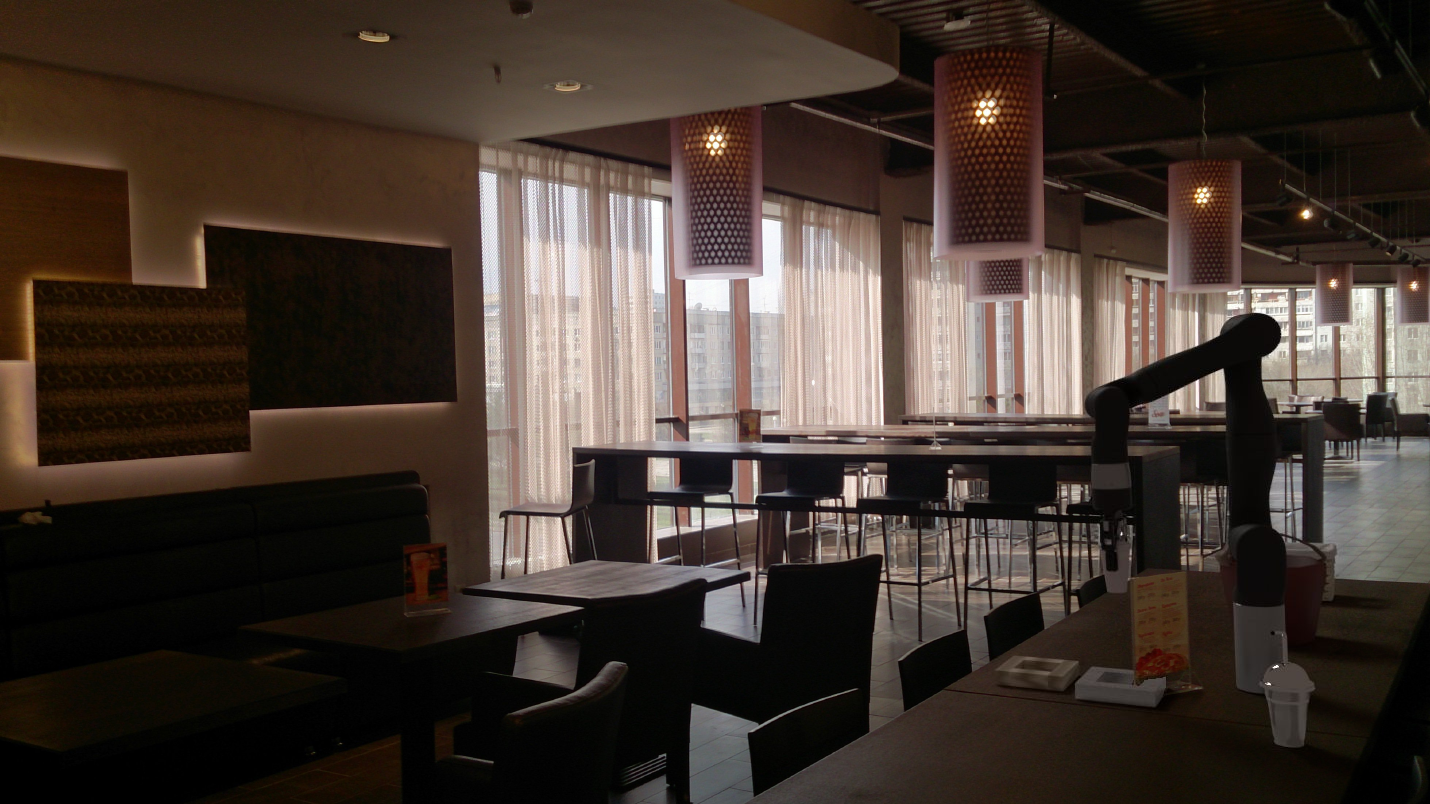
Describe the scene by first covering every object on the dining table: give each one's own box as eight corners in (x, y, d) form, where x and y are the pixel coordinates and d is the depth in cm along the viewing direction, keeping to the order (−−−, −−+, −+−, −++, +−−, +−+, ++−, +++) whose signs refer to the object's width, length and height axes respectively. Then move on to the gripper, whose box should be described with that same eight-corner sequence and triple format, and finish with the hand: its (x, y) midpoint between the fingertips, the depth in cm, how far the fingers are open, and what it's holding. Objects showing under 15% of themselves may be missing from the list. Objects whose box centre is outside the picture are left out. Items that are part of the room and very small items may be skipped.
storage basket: (1239, 598, 313) (1237, 546, 313) (1246, 589, 326) (1244, 539, 326) (1336, 604, 300) (1334, 550, 300) (1339, 594, 314) (1337, 542, 314)
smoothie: (1136, 593, 218) (1132, 523, 218) (1102, 594, 220) (1098, 524, 220) (1131, 588, 225) (1127, 519, 225) (1098, 588, 226) (1094, 520, 226)
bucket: (1218, 644, 259) (1214, 538, 259) (1214, 625, 280) (1210, 527, 280) (1337, 649, 250) (1333, 539, 250) (1324, 629, 271) (1320, 527, 270)
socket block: (1079, 675, 237) (1078, 661, 237) (1063, 691, 225) (1062, 676, 225) (1014, 668, 244) (1014, 655, 244) (995, 684, 232) (994, 670, 232)
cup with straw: (1329, 747, 185) (1325, 628, 185) (1285, 754, 182) (1281, 633, 182) (1289, 733, 193) (1285, 619, 193) (1247, 739, 190) (1243, 624, 190)
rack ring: (1168, 688, 224) (1168, 673, 224) (1155, 707, 211) (1154, 691, 211) (1092, 680, 232) (1091, 666, 232) (1075, 698, 219) (1074, 683, 219)
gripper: (1123, 488, 214) (1128, 575, 214) (1138, 482, 226) (1142, 563, 226) (1083, 489, 218) (1088, 573, 218) (1100, 482, 230) (1104, 562, 230)
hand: (1116, 568), depth 222 cm, fingers closed on smoothie, 6 cm apart
